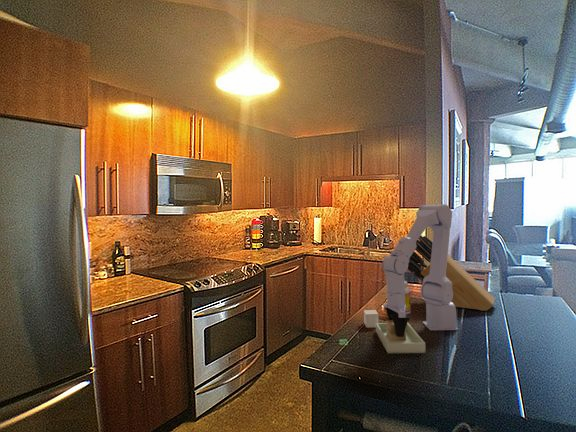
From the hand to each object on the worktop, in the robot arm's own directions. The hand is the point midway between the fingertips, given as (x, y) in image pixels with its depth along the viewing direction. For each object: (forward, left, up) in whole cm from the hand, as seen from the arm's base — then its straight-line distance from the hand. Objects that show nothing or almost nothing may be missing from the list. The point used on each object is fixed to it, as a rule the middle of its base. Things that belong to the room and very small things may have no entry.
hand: (396, 331), depth 110 cm
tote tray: (0, +2, -2) cm, 3 cm away
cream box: (+6, -13, -2) cm, 15 cm away
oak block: (0, 0, -2) cm, 2 cm away
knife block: (-31, -37, -3) cm, 48 cm away
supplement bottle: (-9, -26, -3) cm, 28 cm away
